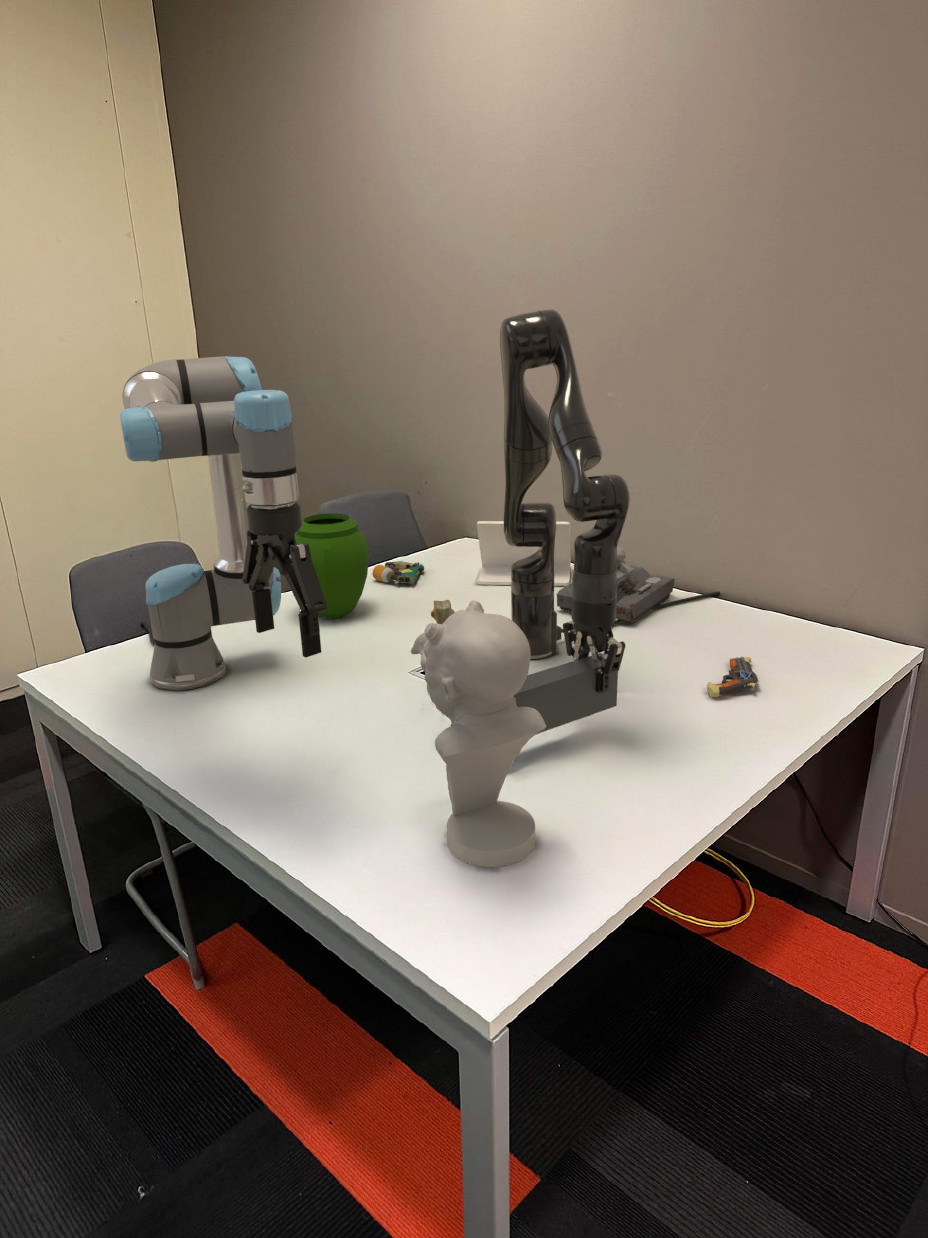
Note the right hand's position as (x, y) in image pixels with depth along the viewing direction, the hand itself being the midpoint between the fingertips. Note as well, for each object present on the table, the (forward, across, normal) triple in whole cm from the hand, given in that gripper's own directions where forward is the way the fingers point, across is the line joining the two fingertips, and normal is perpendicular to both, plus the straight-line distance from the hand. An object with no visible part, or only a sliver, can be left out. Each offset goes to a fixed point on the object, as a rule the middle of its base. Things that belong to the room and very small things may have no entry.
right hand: (591, 686), depth 149 cm
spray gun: (+9, -100, +17) cm, 102 cm away
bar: (+4, 0, -8) cm, 9 cm away
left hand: (-16, -12, -50) cm, 54 cm away
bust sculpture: (+9, +13, -34) cm, 38 cm away
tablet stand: (+9, -81, +46) cm, 93 cm away
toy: (+9, -47, +49) cm, 69 cm away
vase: (+9, -84, -11) cm, 86 cm away
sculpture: (+9, -38, -7) cm, 40 cm away
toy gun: (+9, 0, +37) cm, 38 cm away
